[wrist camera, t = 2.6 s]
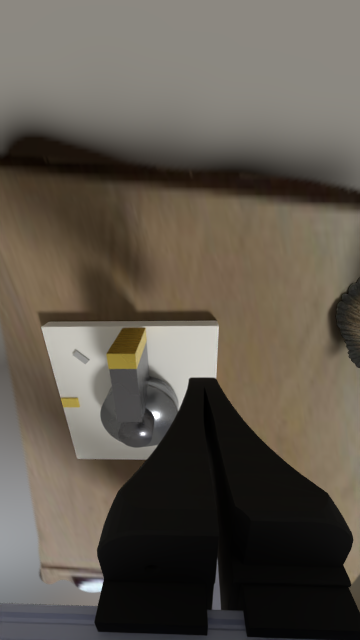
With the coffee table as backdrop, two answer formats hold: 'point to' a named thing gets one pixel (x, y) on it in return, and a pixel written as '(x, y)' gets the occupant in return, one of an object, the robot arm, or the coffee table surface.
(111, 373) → the dial
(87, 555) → the coffee table surface
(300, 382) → the coffee table surface
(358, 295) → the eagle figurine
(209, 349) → the dial plate
